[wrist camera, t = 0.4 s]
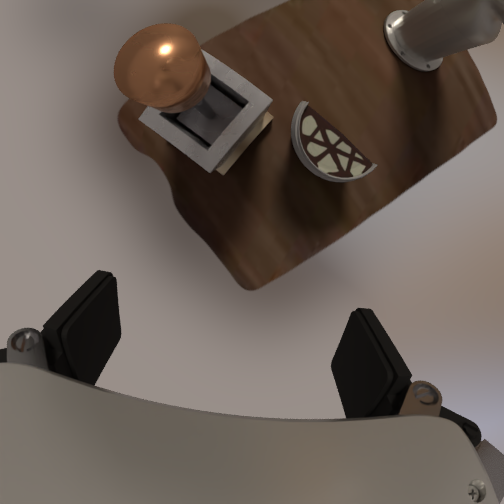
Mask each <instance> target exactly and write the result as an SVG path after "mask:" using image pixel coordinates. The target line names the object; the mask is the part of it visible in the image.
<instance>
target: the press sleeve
mask: <svg viewBox="0 0 504 504" xmlns="http://www.w3.org/2000/svg"><path fill="white" fill-rule="evenodd" d="M201 50H202V49H201ZM202 52H203V55H204V57H205V59H206V61H207V63H208V65H209V68H210V72H211V82H210V85H211V86H213V87H214V88H215V89H217V90H218V91H220V92H221V93H222V94H224V95H225V96H226V97H228V98H229V99H231V100H232V101H233V102H235V103H236V104H237V105H239V106H240V107H241V108H242V110H241V112H240V113H239V114H238V115H237V116H236V117H235V118H234V120H233V121H232V122H231V123H230V124H229V125H228V127H227V128H226V129H225V130H224V131H223V132H222V134H221V135H220V136H219V137H218V138H217V140H216V141H215V142H214V143H213V144H212V145H211V144H210V143H208V142H207V141H206V140H204V139H203V138H202V137H200V136H199V135H198V134H196V133H195V132H194V131H192V130H191V129H190V128H188V127H187V126H186V125H184V124H183V123H182V122H180V121H179V120H178V119H176V118H177V117H178V116H179V114H180V113H181V112H178V113H166V112H162V111H159V110H157V109H154V108H152V107H150V106H148V107H147V108H146V110H145V111H144V112H143V114H142V115H141V116H140V118H139V120H140V121H142V122H143V123H144V124H146V125H147V126H148V127H150V128H151V129H152V130H154V131H155V132H156V133H158V134H159V135H161V136H162V137H163V138H165V139H166V140H167V141H169V142H170V143H171V144H172V145H174V146H175V147H176V148H178V149H179V150H180V151H182V152H183V153H184V154H186V155H187V156H188V157H190V158H191V159H192V160H193V161H195V162H196V163H197V164H199V165H200V166H201V167H202V168H204V169H205V170H206V171H208V172H209V173H211V172H213V171H214V170H216V169H218V168H219V167H221V166H223V164H224V163H225V162H226V161H227V160H228V158H229V157H230V156H231V155H232V154H233V152H234V151H235V150H236V149H237V148H238V146H239V145H240V144H241V143H242V142H243V141H244V139H245V138H246V137H247V136H248V135H249V134H250V133H251V131H252V130H253V129H254V128H255V127H256V126H257V125H258V123H259V122H260V121H261V120H262V119H263V118H264V116H265V114H266V112H267V110H268V108H269V106H270V104H271V103H272V101H273V100H272V99H271V98H270V97H268V96H267V95H266V94H264V93H263V92H262V91H261V90H259V89H258V88H257V87H255V86H254V85H253V84H251V83H250V82H249V81H247V80H246V79H244V78H243V77H242V76H240V75H239V74H237V73H236V72H235V71H233V70H232V69H230V68H229V67H227V66H226V65H225V64H223V63H222V62H220V61H219V60H217V59H216V58H214V57H213V56H211V55H209V54H208V53H206V52H205V51H203V50H202Z"/></svg>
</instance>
